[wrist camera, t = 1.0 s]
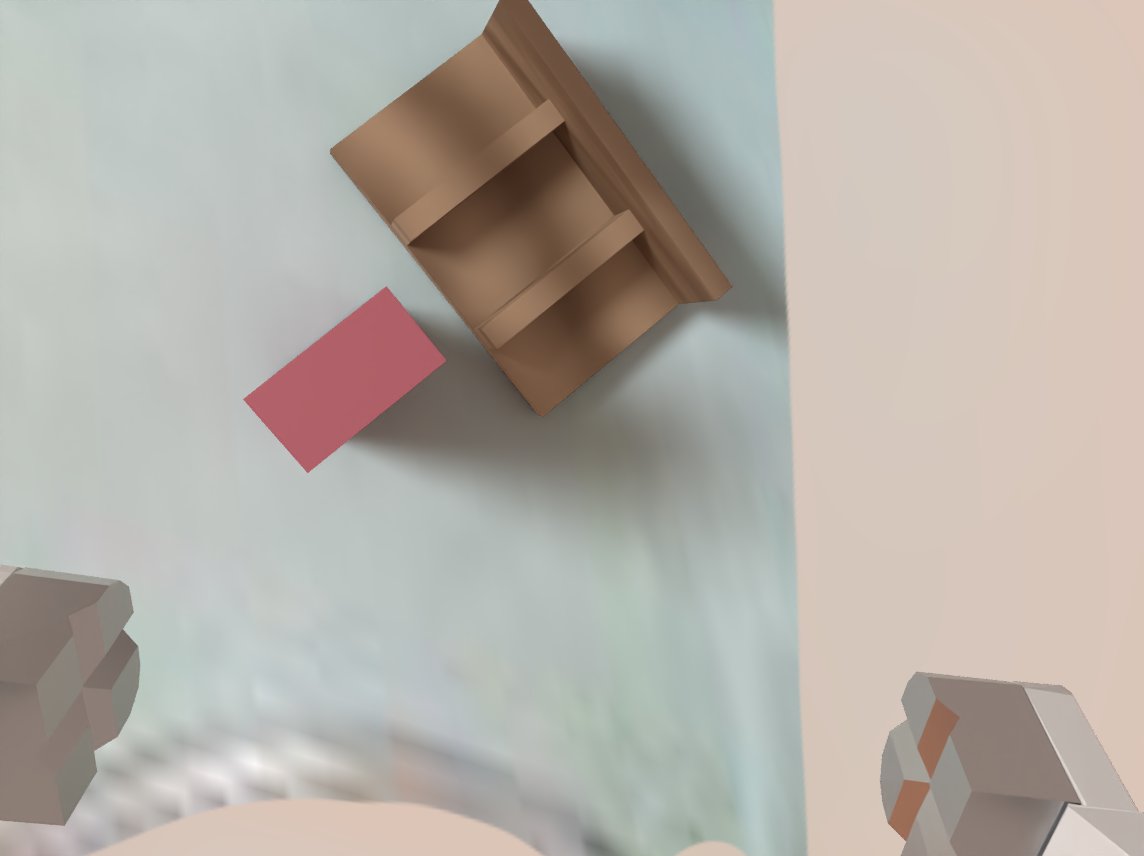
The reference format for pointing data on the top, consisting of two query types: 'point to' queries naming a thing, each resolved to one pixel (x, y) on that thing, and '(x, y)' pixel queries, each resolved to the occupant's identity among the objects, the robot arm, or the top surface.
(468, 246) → the book rack
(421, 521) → the top surface
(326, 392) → the red rectangular block
